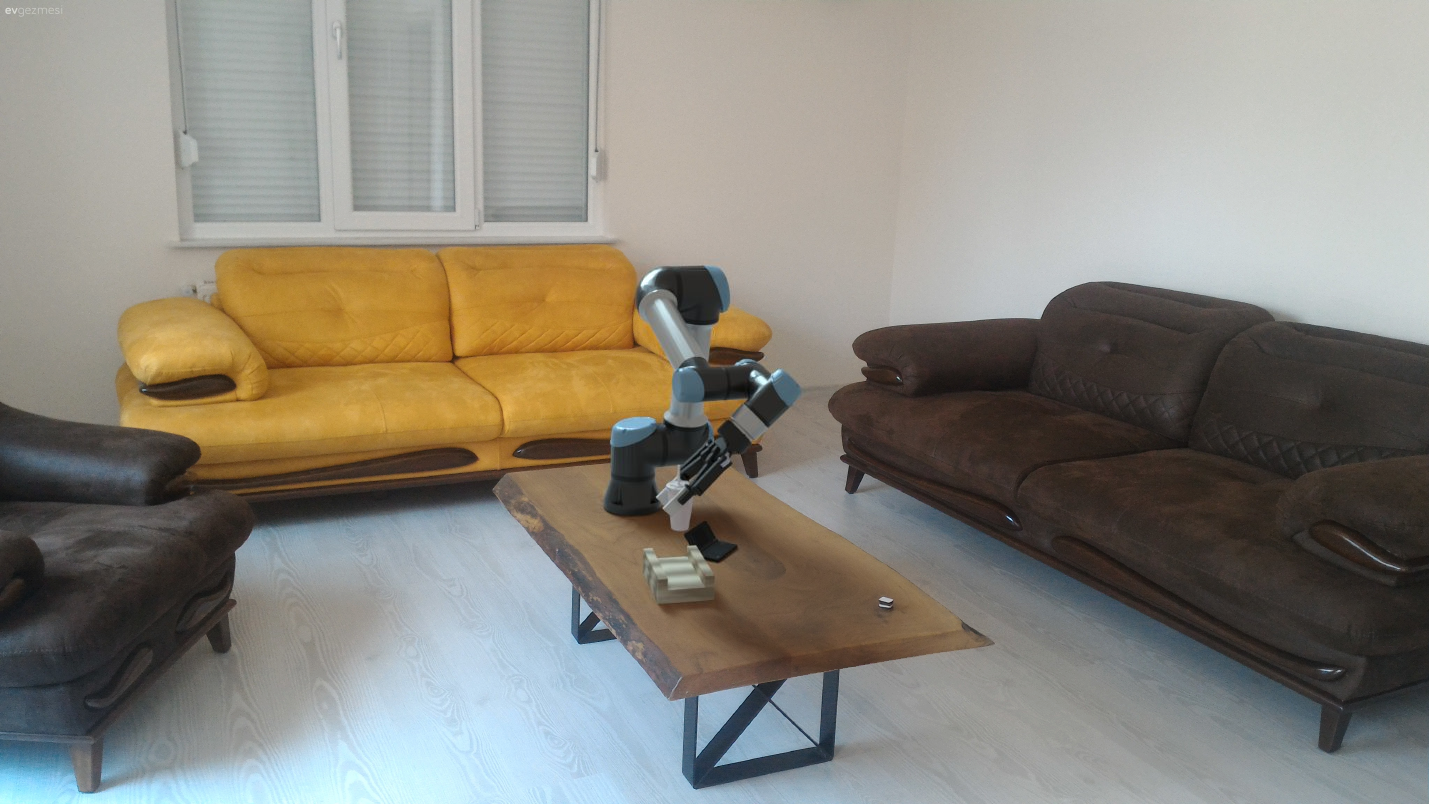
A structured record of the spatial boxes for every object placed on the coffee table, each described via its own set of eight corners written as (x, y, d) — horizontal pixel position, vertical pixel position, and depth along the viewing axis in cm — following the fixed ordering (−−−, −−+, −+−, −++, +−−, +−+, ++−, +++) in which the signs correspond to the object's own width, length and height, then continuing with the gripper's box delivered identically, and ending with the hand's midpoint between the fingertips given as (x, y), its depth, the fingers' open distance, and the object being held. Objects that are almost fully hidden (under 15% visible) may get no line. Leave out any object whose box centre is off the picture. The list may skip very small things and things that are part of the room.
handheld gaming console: (726, 557, 233) (704, 520, 234) (701, 572, 235) (679, 535, 236) (740, 547, 244) (719, 511, 245) (716, 561, 246) (695, 525, 247)
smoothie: (664, 522, 221) (665, 460, 217) (693, 522, 221) (695, 460, 218) (665, 533, 214) (667, 469, 211) (695, 533, 215) (698, 470, 212)
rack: (642, 571, 227) (643, 548, 226) (695, 568, 230) (695, 545, 229) (657, 604, 211) (658, 579, 210) (713, 599, 214) (714, 575, 213)
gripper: (766, 455, 208) (685, 534, 208) (740, 429, 226) (666, 503, 226) (742, 430, 206) (660, 511, 205) (718, 407, 224) (643, 481, 223)
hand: (663, 506), depth 216 cm, fingers closed on smoothie, 6 cm apart
